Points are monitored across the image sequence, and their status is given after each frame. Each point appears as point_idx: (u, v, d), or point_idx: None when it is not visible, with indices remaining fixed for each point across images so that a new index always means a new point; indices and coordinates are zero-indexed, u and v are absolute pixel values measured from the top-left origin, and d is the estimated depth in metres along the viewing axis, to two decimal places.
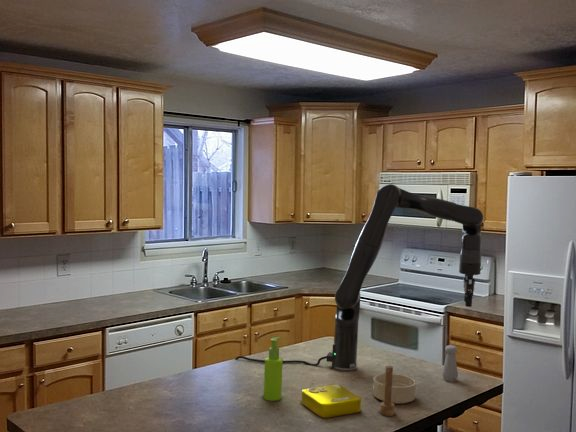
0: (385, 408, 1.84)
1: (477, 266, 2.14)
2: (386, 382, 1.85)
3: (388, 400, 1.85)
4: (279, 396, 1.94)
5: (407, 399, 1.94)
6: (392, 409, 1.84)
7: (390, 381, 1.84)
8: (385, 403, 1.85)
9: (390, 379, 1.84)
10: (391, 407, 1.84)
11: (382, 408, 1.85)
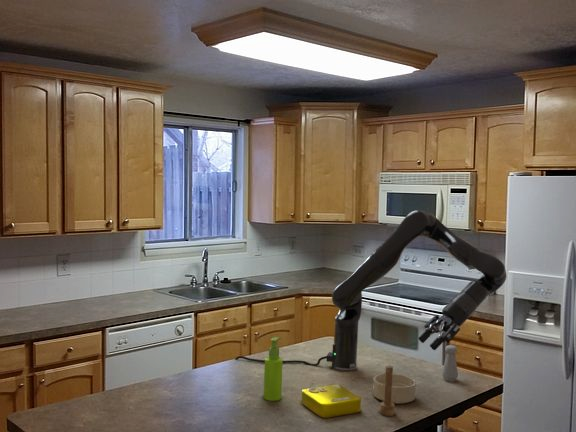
0: (385, 408, 1.84)
1: (466, 318, 1.87)
2: (386, 382, 1.85)
3: (388, 400, 1.85)
4: (279, 396, 1.94)
5: (407, 399, 1.94)
6: (392, 409, 1.84)
7: (390, 381, 1.84)
8: (385, 403, 1.85)
9: (390, 379, 1.84)
10: (391, 407, 1.84)
11: (382, 408, 1.85)
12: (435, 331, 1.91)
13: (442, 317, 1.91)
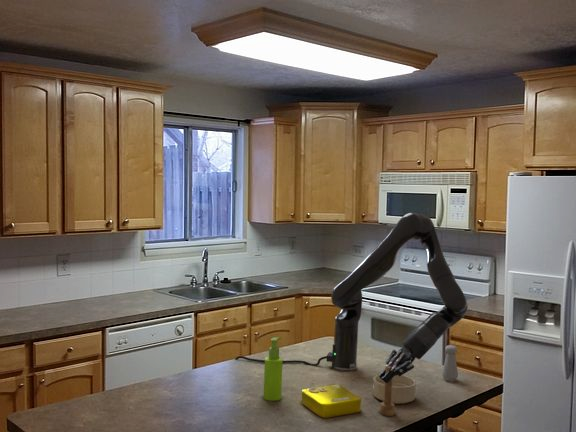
0: (385, 408, 1.84)
1: (425, 352, 1.84)
2: None
3: (388, 400, 1.85)
4: (279, 396, 1.94)
5: (407, 399, 1.94)
6: (392, 409, 1.84)
7: (390, 381, 1.84)
8: (385, 403, 1.85)
9: None
10: (391, 407, 1.84)
11: (382, 408, 1.85)
12: None
13: (402, 348, 1.89)
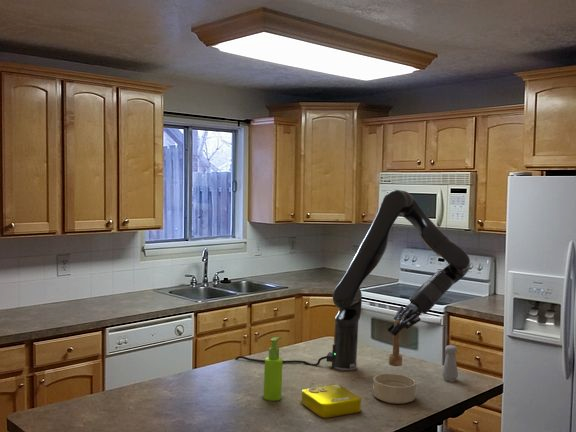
0: (394, 359, 1.97)
1: (431, 306, 1.98)
2: None
3: (396, 352, 1.98)
4: (279, 396, 1.94)
5: (407, 399, 1.94)
6: (400, 360, 1.98)
7: (398, 334, 1.98)
8: (393, 354, 1.99)
9: None
10: (399, 358, 1.97)
11: (391, 359, 1.98)
12: None
13: (409, 304, 2.02)
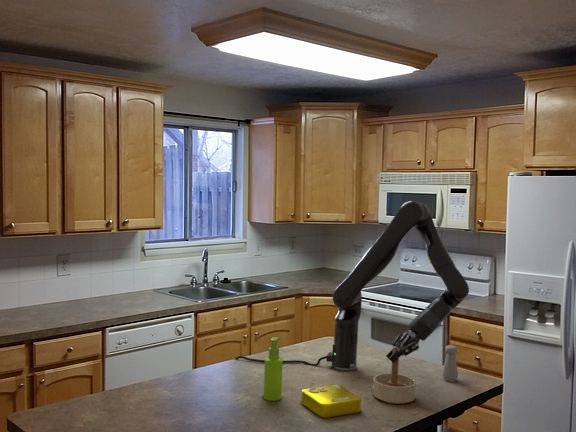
0: None
1: (429, 333, 2.00)
2: None
3: (395, 378, 2.00)
4: (279, 396, 1.94)
5: (407, 399, 1.94)
6: (398, 386, 2.00)
7: (397, 360, 2.00)
8: (392, 381, 2.01)
9: (397, 359, 2.00)
10: (398, 384, 2.00)
11: (389, 385, 2.00)
12: None
13: (408, 331, 2.04)
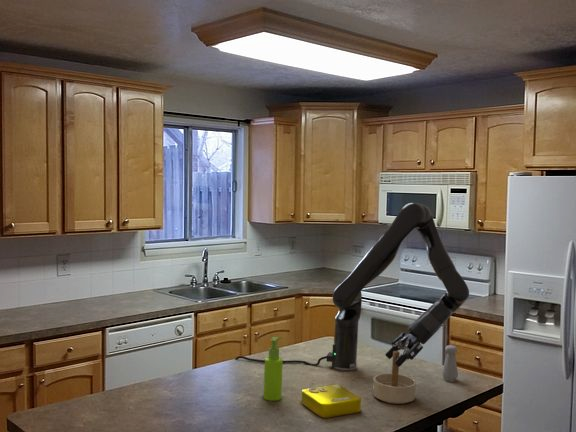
0: None
1: (429, 337, 1.98)
2: (393, 366, 1.99)
3: (395, 383, 1.99)
4: (279, 396, 1.94)
5: (407, 399, 1.94)
6: None
7: None
8: (392, 385, 1.99)
9: None
10: None
11: None
12: (401, 348, 2.03)
13: (408, 335, 2.02)
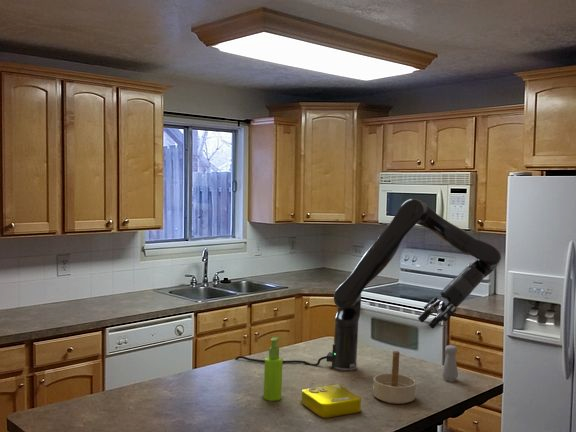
0: None
1: (462, 300, 2.03)
2: (393, 366, 1.99)
3: (395, 383, 1.99)
4: (279, 396, 1.94)
5: (407, 399, 1.94)
6: None
7: (397, 365, 1.99)
8: (392, 385, 1.99)
9: (397, 363, 1.99)
10: None
11: None
12: (434, 311, 2.07)
13: (440, 299, 2.06)
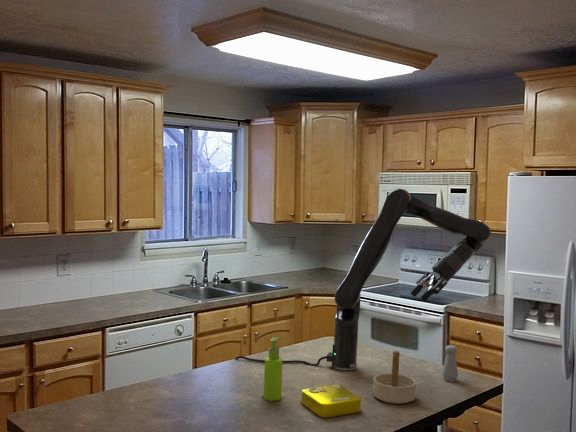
0: None
1: (453, 274, 2.09)
2: (393, 366, 1.99)
3: (395, 383, 1.99)
4: (279, 396, 1.94)
5: (407, 399, 1.94)
6: None
7: (397, 365, 1.99)
8: (392, 385, 1.99)
9: (397, 363, 1.99)
10: None
11: None
12: (425, 286, 2.14)
13: (432, 273, 2.13)
